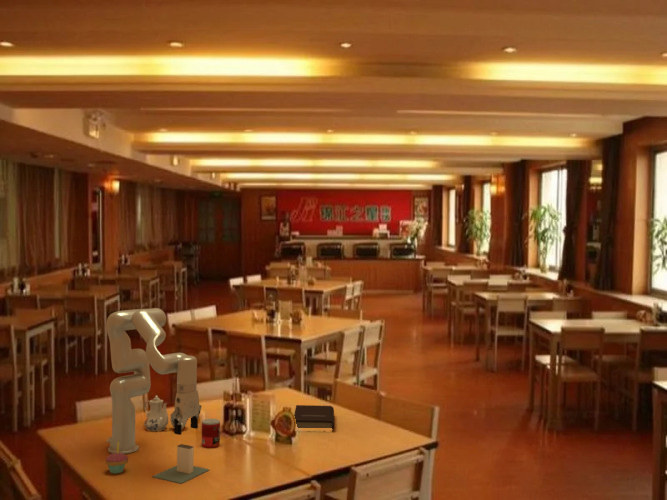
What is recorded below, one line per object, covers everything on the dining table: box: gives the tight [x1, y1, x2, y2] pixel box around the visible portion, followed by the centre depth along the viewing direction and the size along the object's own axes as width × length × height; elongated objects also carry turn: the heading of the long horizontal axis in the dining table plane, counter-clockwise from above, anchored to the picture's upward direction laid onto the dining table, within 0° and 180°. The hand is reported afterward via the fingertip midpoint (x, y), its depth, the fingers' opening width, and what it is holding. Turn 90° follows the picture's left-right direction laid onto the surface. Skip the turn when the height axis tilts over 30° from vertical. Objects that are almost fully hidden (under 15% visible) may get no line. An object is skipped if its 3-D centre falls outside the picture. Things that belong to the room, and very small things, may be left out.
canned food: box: [201, 418, 221, 449], centre depth 311 cm, size 8×8×11 cm
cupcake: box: [104, 440, 129, 475], centre depth 276 cm, size 9×8×12 cm
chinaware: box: [143, 394, 189, 433], centre depth 337 cm, size 28×17×17 cm, turn 57°
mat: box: [152, 465, 210, 485], centre depth 275 cm, size 14×17×1 cm
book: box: [293, 404, 335, 430], centre depth 348 cm, size 28×20×6 cm
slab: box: [176, 443, 195, 474], centre depth 277 cm, size 6×3×10 cm, turn 62°
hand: (186, 431), depth 277 cm, fingers open, 9 cm apart
